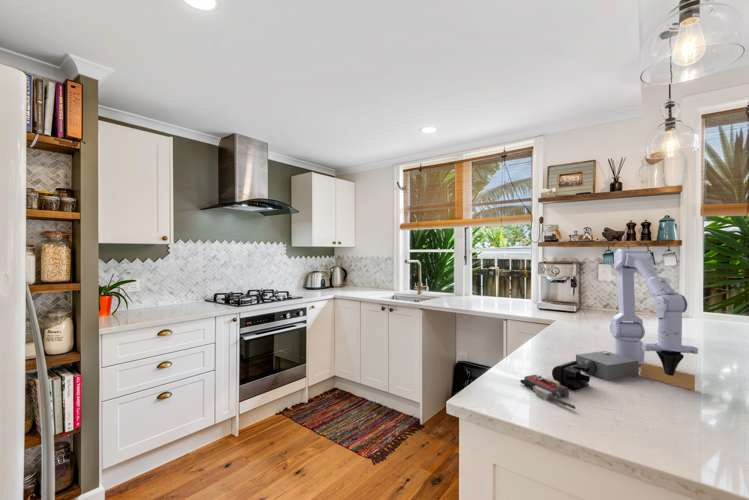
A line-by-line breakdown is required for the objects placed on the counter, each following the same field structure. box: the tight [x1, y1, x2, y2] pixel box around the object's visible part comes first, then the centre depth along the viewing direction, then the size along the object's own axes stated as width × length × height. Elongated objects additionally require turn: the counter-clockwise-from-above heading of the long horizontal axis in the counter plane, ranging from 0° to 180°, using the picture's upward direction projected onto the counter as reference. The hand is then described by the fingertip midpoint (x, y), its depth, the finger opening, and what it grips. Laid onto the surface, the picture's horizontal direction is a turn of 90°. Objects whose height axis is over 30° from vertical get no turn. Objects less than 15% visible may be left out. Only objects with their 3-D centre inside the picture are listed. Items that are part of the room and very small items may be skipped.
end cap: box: [551, 360, 591, 392], centre depth 111 cm, size 10×7×7 cm
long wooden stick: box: [640, 361, 696, 391], centre depth 113 cm, size 14×1×4 cm, turn 30°
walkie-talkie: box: [519, 374, 576, 410], centre depth 103 cm, size 9×4×20 cm
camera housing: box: [575, 350, 640, 381], centre depth 123 cm, size 17×12×6 cm
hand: (669, 374), depth 110 cm, fingers closed
